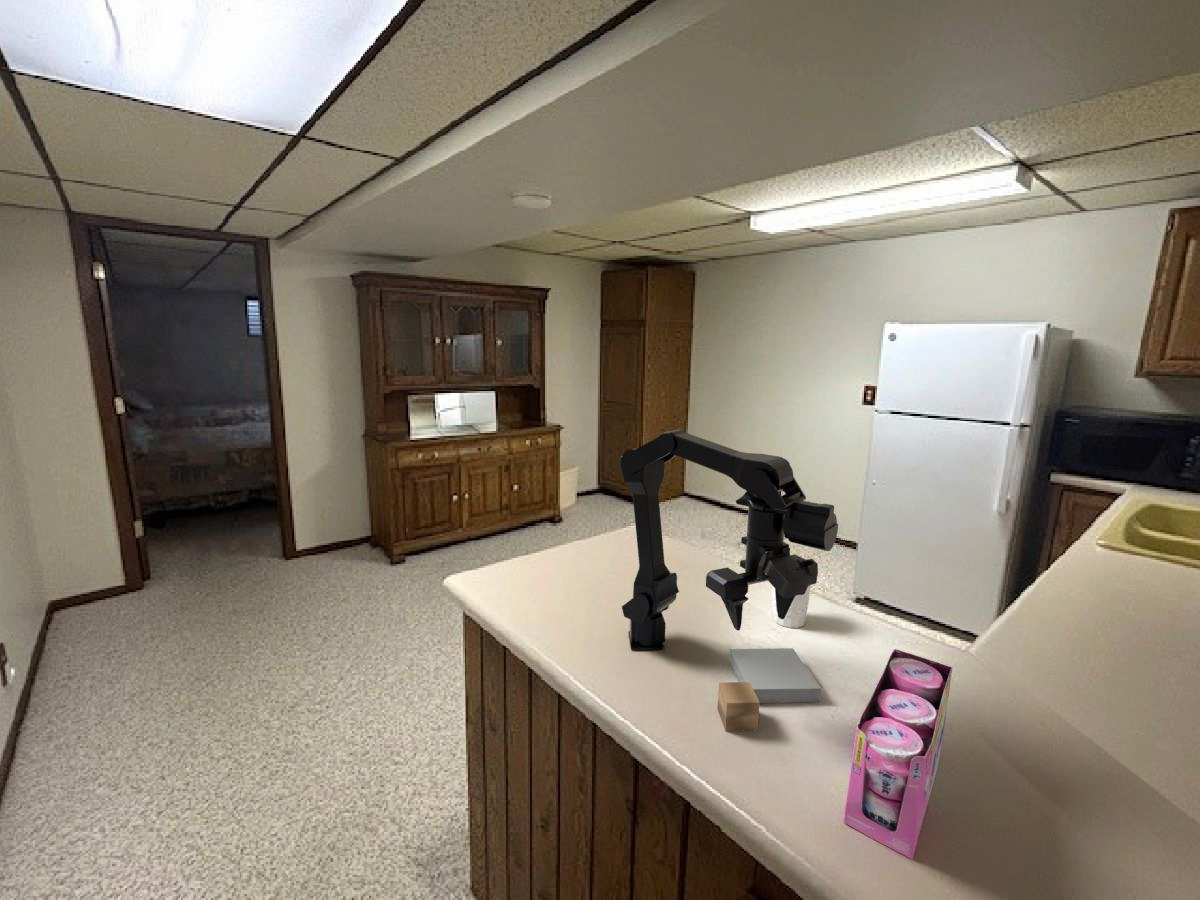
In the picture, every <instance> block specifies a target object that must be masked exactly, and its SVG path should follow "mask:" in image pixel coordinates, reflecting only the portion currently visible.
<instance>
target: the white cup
mask: <svg viewBox="0 0 1200 900" xmlns="http://www.w3.org/2000/svg"><path fill="white" fill-rule="evenodd" d="M771 586H772V585H771ZM811 587H812V585H810V586H808V588H807V590H806V592H805V594H804V595H796V596H795V598H794V600H793V602H792V604H791V606H790V608H789V610H788V612H787V614H786V616H785V618H784V619H780V618H779V617H778V614H777V608H776V594H775V588H774V587H773V586H772V587H771V609H772V610H771V611H772V612H771V613H772V614H771V615H772V616H771V617H772V620H773V622H774V623H776V624H777V625H780V626H782V627H785V628H790V629H793V628H794V629H796V628H797V629H798V628H801V627H803V626H805V624H806V622H807V621H806V619H807V612H808V609H809V603H810V602H809V601H810V595H811V594H810V593H811V589H812V588H811Z"/></svg>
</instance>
